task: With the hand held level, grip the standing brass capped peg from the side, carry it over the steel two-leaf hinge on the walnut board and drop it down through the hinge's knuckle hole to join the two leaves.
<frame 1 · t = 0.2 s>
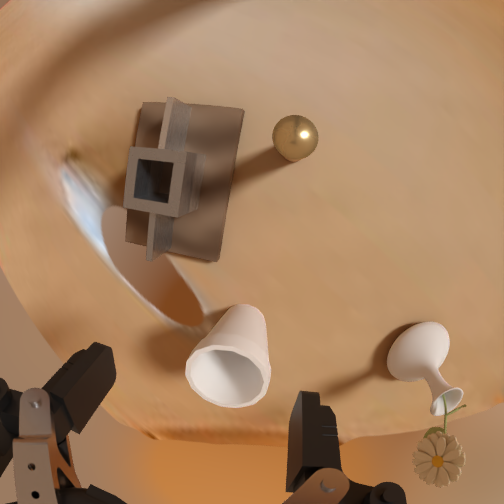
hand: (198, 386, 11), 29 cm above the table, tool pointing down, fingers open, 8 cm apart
hinge: (165, 179, 33), on the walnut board, point 5 cm above the table
foam cup: (244, 322, 42), on the table
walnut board: (180, 177, 37), on the table
brass capped peg: (293, 150, 35), on the table
flower in vase: (412, 350, 40), on the table
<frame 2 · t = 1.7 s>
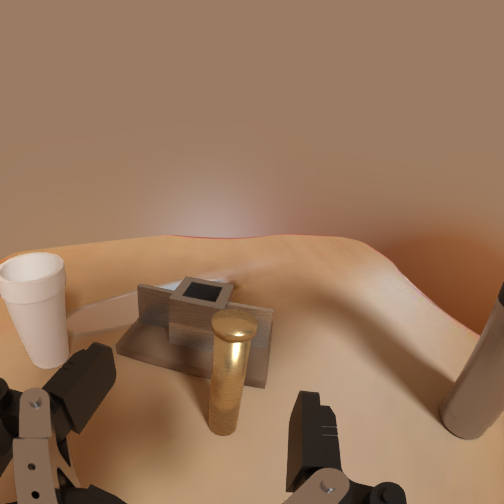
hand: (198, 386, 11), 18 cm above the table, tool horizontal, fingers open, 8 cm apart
hinge: (201, 313, 39), on the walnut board, point 5 cm above the table
foam cup: (49, 354, 30), on the table
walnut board: (200, 342, 40), on the table
brass capped peg: (222, 425, 27), on the table
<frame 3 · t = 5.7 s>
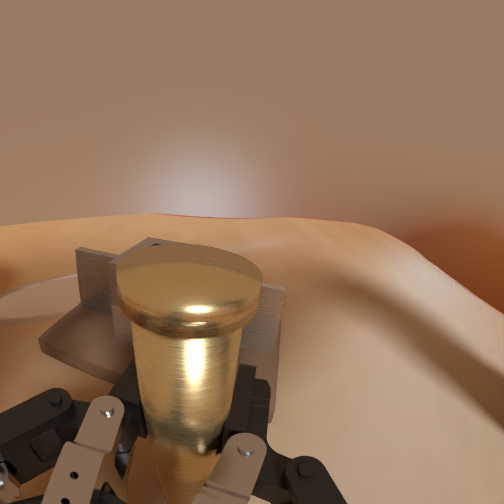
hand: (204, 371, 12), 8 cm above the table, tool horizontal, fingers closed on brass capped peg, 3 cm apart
hinge: (167, 294, 23), on the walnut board, point 5 cm above the table
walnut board: (167, 341, 25), on the table
brass capped peg: (190, 494, 11), on the table, touching gripper
when the fingers open (14 cm above the table, at t = 9.5 s): brass capped peg drops 5 cm, resting on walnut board.
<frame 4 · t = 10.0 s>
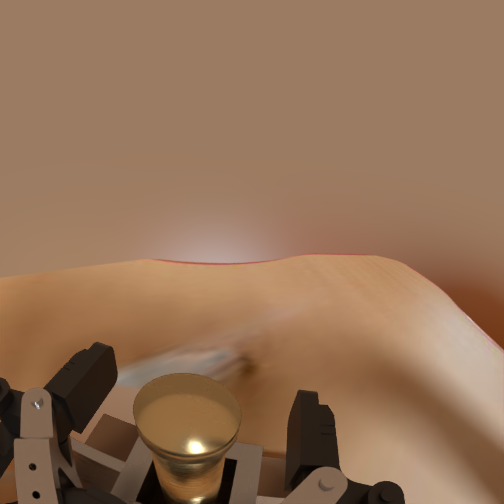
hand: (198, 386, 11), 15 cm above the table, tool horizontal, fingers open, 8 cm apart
hinge: (190, 502, 12), on the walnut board, point 5 cm above the table
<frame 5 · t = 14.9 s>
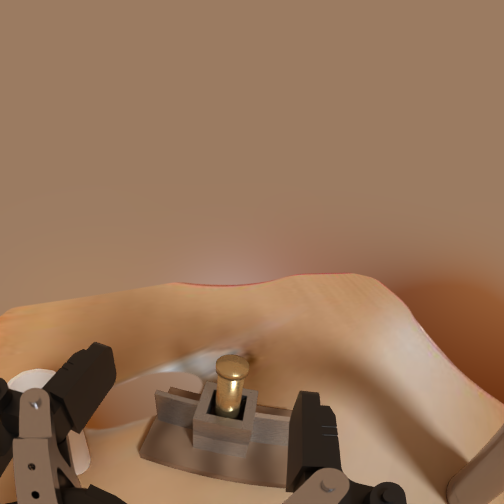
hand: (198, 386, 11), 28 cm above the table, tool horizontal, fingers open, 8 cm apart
hinge: (225, 420, 33), on the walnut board, point 5 cm above the table
foam cup: (70, 457, 25), on the table
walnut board: (222, 439, 35), on the table
brass capped peg: (224, 434, 34), point 2 cm above the table, touching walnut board
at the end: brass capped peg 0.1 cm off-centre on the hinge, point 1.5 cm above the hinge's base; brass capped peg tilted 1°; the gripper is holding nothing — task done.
